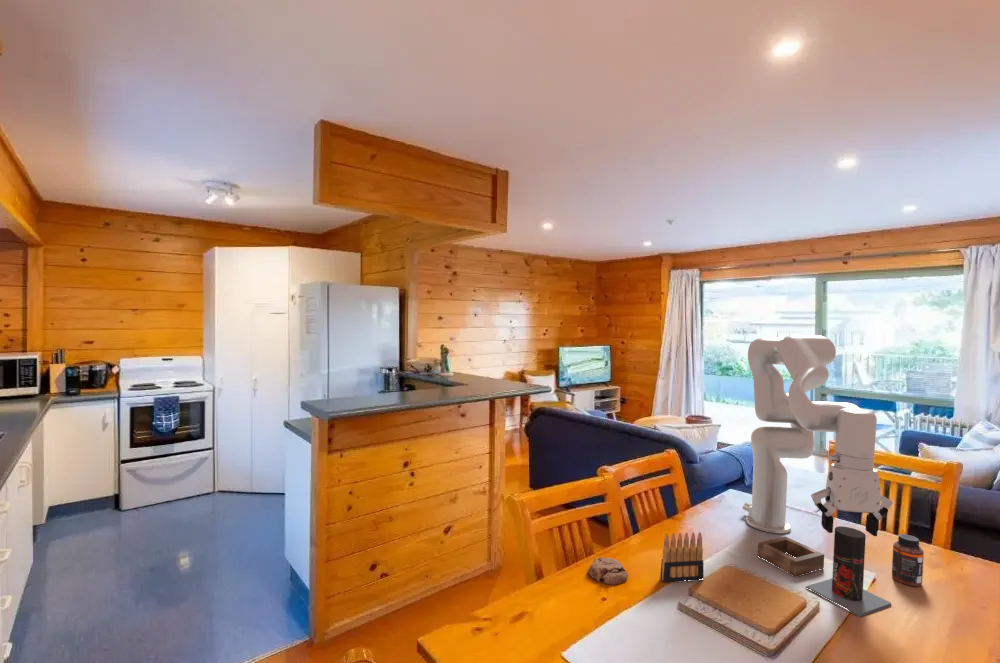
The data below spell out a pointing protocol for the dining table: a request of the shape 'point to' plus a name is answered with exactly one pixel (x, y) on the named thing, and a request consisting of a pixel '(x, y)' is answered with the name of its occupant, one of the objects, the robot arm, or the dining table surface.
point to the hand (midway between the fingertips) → (849, 531)
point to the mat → (855, 607)
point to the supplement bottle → (907, 561)
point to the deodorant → (848, 563)
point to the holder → (797, 566)
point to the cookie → (608, 571)
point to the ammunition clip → (682, 559)
